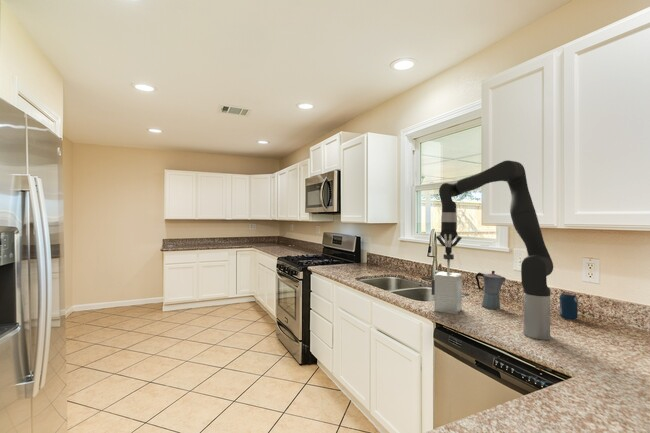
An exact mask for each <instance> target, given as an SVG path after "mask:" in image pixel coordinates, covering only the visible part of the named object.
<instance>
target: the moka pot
mask: <svg viewBox="0 0 650 433" xmlns="http://www.w3.org/2000/svg"><path fill="white" fill-rule="evenodd" d="M495 272H496V271H495V270H491V273H484V272H483V273H482V272H477V274H476V275H475V276H474V277H475V281H476V284H477V288H478V290H481V291H484V293H483V296H482V297H483V298H482V302H481V306H482V307H484V308H485V309H490V310H499V309H501V302H500V299H501V298H500V291H501V289H502V285H503V284H504V282H505V280H507V278H506V277H505V276H502V275H500V274H497V273H496V274H495ZM479 277H482V279H483V287H481V285H480V281H479Z"/></svg>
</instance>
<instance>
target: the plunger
mask: <svg viewBox="0 0 650 433" xmlns="http://www.w3.org/2000/svg"><path fill="white" fill-rule="evenodd" d="M454 257H455V256H454V254H453V253H451V254H450V255H449V254H447V253H443V258H442V259H444V260H447V262H446V263H447V264H446V266H447V267H446V269H447V270H446V272H447V274H449V275H450V273H451V272H450V270H451V268H450V266H451V260H452V261H453V260H454Z"/></svg>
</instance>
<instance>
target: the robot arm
mask: <svg viewBox="0 0 650 433" xmlns="http://www.w3.org/2000/svg"><path fill="white" fill-rule="evenodd" d="M526 174H527V173H526V170H525V167H524V165H523V164H522V163H521V162H518V161H516V160H515V161H514V160H510V159H509V160H503V161H501V162H499V163H497V164H496V165H493V166H491V167H489V168H487V169H485V170H482V171H480V172H478V173H475V174H472V175H469V176H467V177H463V178H461V179H460V178H459V180H457V181H456V182H453V183H451V182H450V183H449V182H443V183H441V185H440V186H439V190H438V195H439V199H440V203H441V219H440V220H441V222H440V223H441V225H440V226H441V227H440V233H439V234H438V235H437V236H436V239H437V241H438V242H439V244H441V246H442V247H445V254H449V255H450V254H453V252H452V251H453V249H452V248H453V247H455V246H457V244H458V243H459V242H460V241H461V240H462V236H460V235H459V234H458V232H457V229H458V228H457V226H458V224H457V221H458V219H457V203H456V202H455V201H453V198H455V197H458V196H460V195H462V194H464V193H467V192H471V191H474V190H477V189H480V188H481V187H483V186H485V185H487V184H490V183H496V182H505V183H506V184H507V185H508V188H509V191H510V198H511V199H510V206H509V213H510V218H511V221H512V224H513V227H514V229H515V231H516V233H517V234H518V236H519V238H520V239H521V240H522V242H523V243H524V246H525V248H526V252H527V256H526V257H524V259H522V261H521V265H520V266H521V267H520V272H521V274H520V276H521V287H522V288H523V313H522V314H523V319H522V320H523V324H522V325H523V327H522V329H523V332H522V333H523V335H524V336H526V337H529V338H532V339H537V340H547V341H550V340H551V289H550V287H549V286H548V282H547V277H548V276H549V275H551V274H552V273H553V270H554V263H553V260H552V258H551V255H550V253H549V251H548V248H547V246H546V244H545V240H544V237H543V232H542V230H541V226H540V223H539V219H538V214H537V211H536V209H535V206H534V203H533V199H532V197H531V194H530V191H529V186H528V181H527V175H526Z"/></svg>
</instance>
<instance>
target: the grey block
mask: <svg viewBox="0 0 650 433" xmlns="http://www.w3.org/2000/svg"><path fill="white" fill-rule="evenodd" d="M462 292H463V273H460V272H459V273H458V272H450V275H449V274H447V271H439V272H437V273H434V279H431V295H432V296H434V306H433V307H434V311H433V312H439V313H444V314H450V315H457V316H458V314H459V313H460V312H461V311H462V310H463V308H462V307H463V300H462V299H463V296H462V295H463V293H462Z"/></svg>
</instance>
